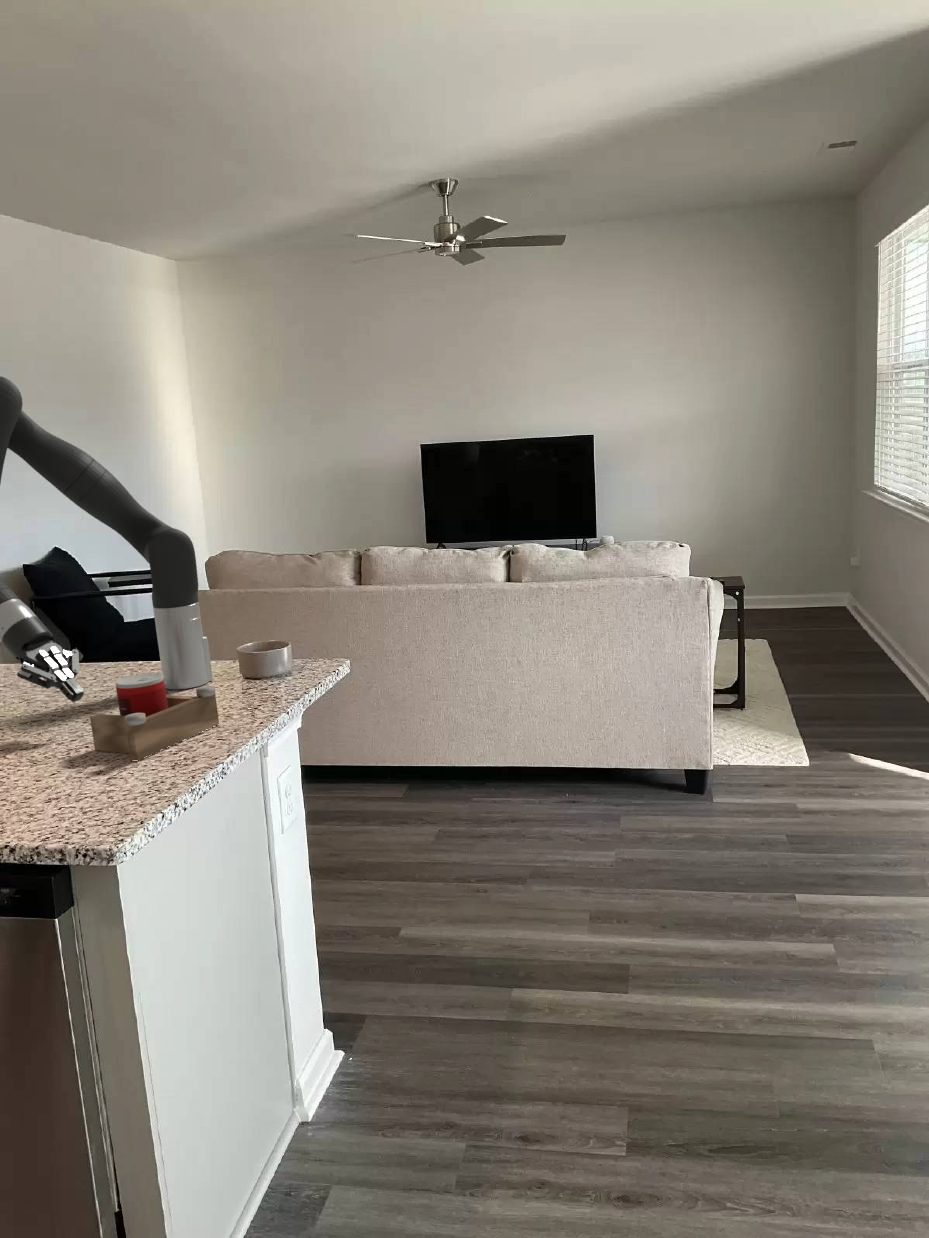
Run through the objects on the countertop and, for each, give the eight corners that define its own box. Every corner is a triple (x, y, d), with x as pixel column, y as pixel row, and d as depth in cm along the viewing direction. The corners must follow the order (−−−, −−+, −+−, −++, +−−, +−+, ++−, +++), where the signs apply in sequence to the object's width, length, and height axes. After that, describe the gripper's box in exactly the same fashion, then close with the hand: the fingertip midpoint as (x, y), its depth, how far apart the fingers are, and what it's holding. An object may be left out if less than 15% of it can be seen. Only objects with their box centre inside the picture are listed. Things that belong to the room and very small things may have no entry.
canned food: (180, 733, 173) (172, 672, 171) (154, 748, 166) (145, 684, 164) (142, 733, 175) (134, 672, 173) (115, 747, 168) (105, 684, 166)
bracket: (80, 756, 164) (74, 714, 163) (166, 721, 182) (160, 683, 181) (141, 762, 158) (135, 718, 157) (223, 725, 176) (218, 686, 175)
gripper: (-4, 623, 172) (58, 694, 169) (56, 608, 184) (115, 674, 181) (-20, 652, 175) (40, 722, 172) (40, 636, 187) (98, 701, 184)
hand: (79, 697), depth 176 cm, fingers closed
